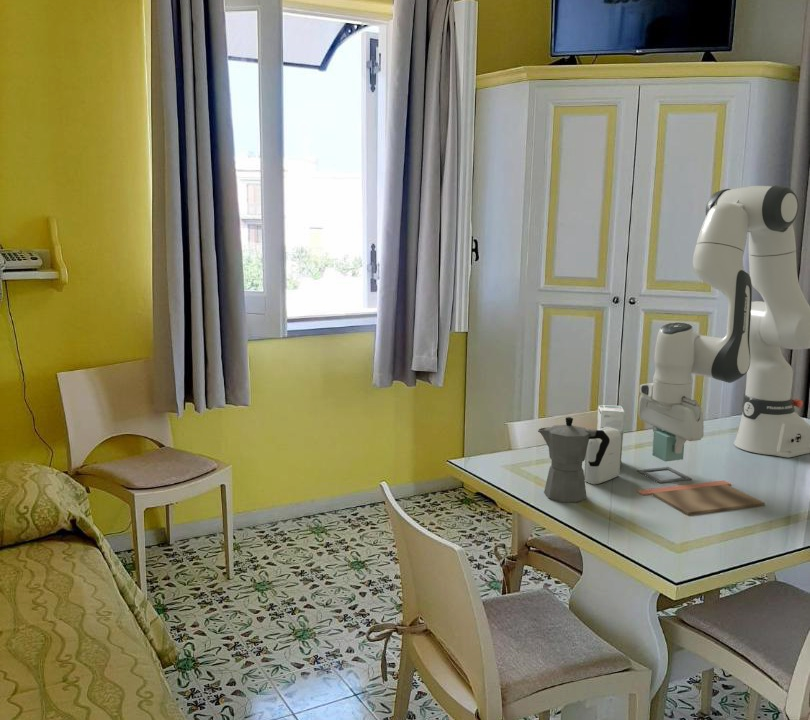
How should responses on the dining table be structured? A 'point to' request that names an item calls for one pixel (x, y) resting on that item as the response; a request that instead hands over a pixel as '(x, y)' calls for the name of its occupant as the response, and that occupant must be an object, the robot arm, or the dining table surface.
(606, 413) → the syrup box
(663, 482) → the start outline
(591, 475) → the photo printer
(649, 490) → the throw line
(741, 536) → the dining table surface
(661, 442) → the teal block
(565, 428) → the coffeepot
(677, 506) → the board
